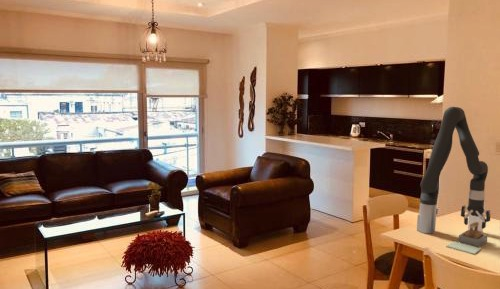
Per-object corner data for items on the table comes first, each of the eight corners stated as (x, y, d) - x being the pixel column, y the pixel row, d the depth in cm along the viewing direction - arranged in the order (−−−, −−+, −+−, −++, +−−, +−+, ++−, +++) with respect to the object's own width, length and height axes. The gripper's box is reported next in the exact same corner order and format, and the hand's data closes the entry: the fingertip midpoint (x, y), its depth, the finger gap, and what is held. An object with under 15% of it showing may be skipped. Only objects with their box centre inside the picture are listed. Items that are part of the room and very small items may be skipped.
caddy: (464, 242, 227) (465, 223, 226) (469, 239, 233) (471, 220, 231) (475, 245, 223) (477, 226, 221) (481, 241, 228) (482, 223, 227)
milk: (478, 234, 239) (481, 198, 236) (467, 231, 244) (470, 195, 241) (482, 232, 243) (485, 196, 240) (472, 229, 248) (475, 194, 244)
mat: (446, 246, 221) (446, 245, 221) (453, 242, 227) (453, 241, 227) (474, 254, 210) (474, 253, 210) (481, 249, 217) (481, 248, 217)
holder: (458, 242, 227) (459, 235, 227) (467, 236, 236) (467, 230, 235) (478, 247, 220) (479, 240, 219) (487, 241, 228) (487, 234, 227)
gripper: (460, 196, 227) (458, 225, 229) (488, 201, 217) (486, 231, 219) (465, 194, 232) (463, 222, 234) (493, 198, 222) (491, 228, 224)
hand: (474, 226), depth 226 cm, fingers open, 8 cm apart
